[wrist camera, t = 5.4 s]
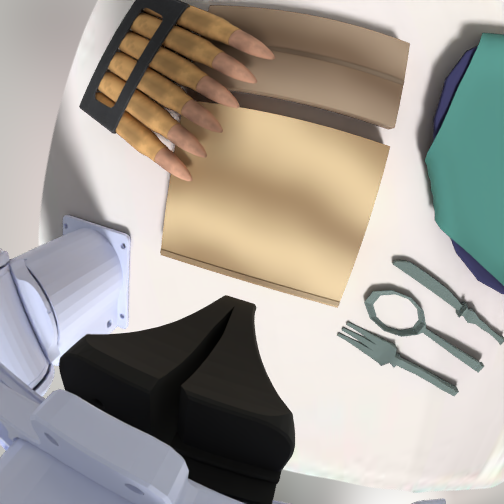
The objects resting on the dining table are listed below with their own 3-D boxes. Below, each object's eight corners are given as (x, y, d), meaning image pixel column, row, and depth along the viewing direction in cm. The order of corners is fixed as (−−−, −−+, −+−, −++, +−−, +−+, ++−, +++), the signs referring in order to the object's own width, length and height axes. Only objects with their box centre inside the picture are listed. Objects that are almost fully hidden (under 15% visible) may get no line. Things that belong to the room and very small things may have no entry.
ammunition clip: (144, -13, 14) (279, 40, 12) (159, -5, 15) (288, 50, 14) (78, 107, 18) (176, 194, 17) (95, 108, 20) (192, 190, 19)
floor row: (388, 129, 17) (394, 127, 15) (197, 86, 18) (188, 82, 17) (403, 50, 14) (409, 43, 13) (217, 13, 16) (209, 4, 14)
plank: (336, 297, 21) (337, 308, 20) (169, 248, 23) (160, 255, 21) (384, 146, 17) (390, 146, 15) (193, 102, 18) (184, 99, 17)
